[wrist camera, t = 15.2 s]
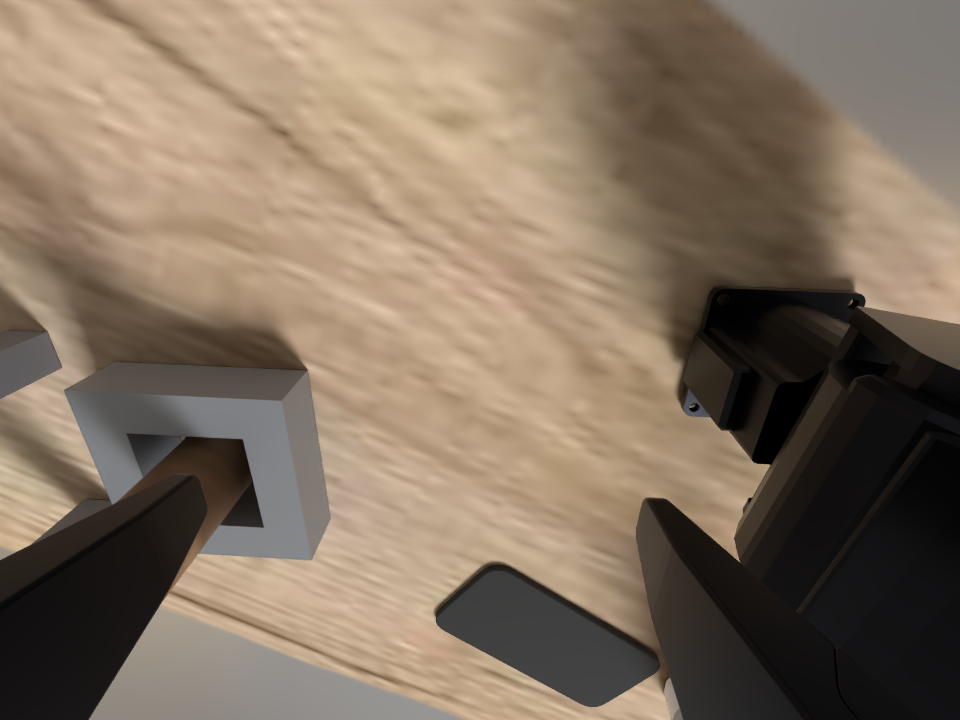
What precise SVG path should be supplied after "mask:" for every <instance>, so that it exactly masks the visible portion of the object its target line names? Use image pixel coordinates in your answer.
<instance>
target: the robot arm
mask: <svg viewBox="0 0 960 720" xmlns="http://www.w3.org/2000/svg"><path fill="white" fill-rule="evenodd" d="M722 294H726V297H725V299H724V300H723V301H722V302H718V298H719V296H720V295H722ZM852 299H853V302H852V304H851V305H850V306H848V307H847V303H848V302H849V301H850V300H852ZM865 301H866V300H865V297H864V296H863V295H862V294H859V293H857V292H854V291H844V290H818V289H793V288H767V287H741V286H718V287H716V288H714V289H713V290H712V291H711V292H710V294H709V296H708V299H707V303H706V307H705V311H704V315H703V319H702V323H701V327H700V330H699V331H698V332H697V333H695V334H694V338H693V342H692V346H691V350H690V354H689V358H688V362H687V366H686V370H685V374H684V378H683V382H684V383H685V384H686V386H685V390H684V393H683V397H682V401H681V407H682V409H683V411H684V412H685V414H687V415H688V416H695V417H711V418H712V420H713V421H714V422H715V424H716V425H717V426H718V427H719V428H720V429H721V430H722V431H729V432H730V433H731V434H732V435H733V437H734V438H735V439H736V441H737V442H738V443H739V444H740V446H741V447H742V448H743V449H744V451H745V452H746V453H747V454H748V456H749V457H750V458H751V460H752V461H753V462H754V463H757V464H770V465H771V466H770V467H769V469H768V471H767V473H766V474H765V476H764V478H763V480H762V482H761V483H760V485H759V487H758V489H757V490H756V492H755V494H754V496H753V497H752V498H749V499H748V500H747V502H746V504H745V506H744V507H743V516H742V518H741V520H740V521H739V523H738V527H737V530H736V534H735V537H734V540H735V544H736V548H737V552H738V556H739V560H740V562H741V563H740V562H739V561H737V560H736V559H735V558H734V557H733V556H732V555H730V554H729V553H728V552H727V551H726V550H725V549H724V548H722V547H721V546H720V545H719V544H718V543H717V542H716V541H714V540H713V539H712V538H711V537H710V536H709V535H707V534H706V533H705V532H704V531H703V530H702V529H701V528H699V527H698V526H697V525H696V524H695V523H694V522H693V521H691V520H690V519H689V518H688V517H687V516H686V515H685V514H683V513H682V512H681V511H680V510H679V509H678V508H676V507H675V506H674V505H673V504H672V503H671V502H670V501H668V500H667V499H664V498H649V497H648V498H645V499H644V500H643V502H642V506H641V510H640V515H639V519H638V523H637V527H636V540H637V545H638V551H639V556H640V561H641V566H642V571H643V576H644V581H645V586H646V592H647V597H648V602H649V607H650V611H651V616H652V620H653V623H654V627H655V630H656V634H657V637H658V640H659V643H660V646H661V650H662V653H663V656H664V659H665V663H666V666H667V669H668V672H669V676H670V679H671V682H672V685H673V689H674V692H675V695H676V698H677V702H678V705H679V708H680V711H681V714H682V718H683V720H960V325H959V324H953V323H948V322H943V321H937V320H932V319H926V318H921V317H915V316H910V315H904V314H899V313H893V312H888V311H883V310H877V309H872V308H866V307H864V306H865ZM693 403H697V404H696V406H694V407H693V408H689V407H690V405H691V404H693ZM207 513H208V503H207V500H206V496H205V493H204V490H203V486H202V483H201V480H200V478H199V477H198V476H197V475H195V474H183V473H178V474H173V475H171V476H169V477H167V478H165V479H163V480H161V481H159V482H157V483H155V484H153V485H151V486H149V487H147V488H145V489H143V490H141V491H139V492H137V493H135V494H133V495H131V496H129V497H127V498H125V499H122V500H120V501H118V502H116V503H114V504H112V505H110V506H108V507H106V508H104V509H102V510H100V511H98V512H96V513H94V514H92V515H90V516H88V517H86V518H84V519H82V520H80V521H78V522H76V523H74V524H72V525H70V526H68V527H66V528H64V529H62V530H60V531H58V532H56V533H54V534H52V535H50V536H48V537H46V538H44V539H42V540H40V541H38V542H36V543H34V544H32V545H30V546H28V547H26V548H24V549H22V550H20V551H18V552H16V553H14V554H12V555H10V556H8V557H6V558H4V559H2V560H0V720H89V718H90V717H91V715H92V714H93V712H94V710H95V709H96V707H97V706H98V704H99V702H100V701H101V699H102V698H103V696H104V694H105V692H106V691H107V689H108V688H109V686H110V684H111V683H112V681H113V680H114V678H115V677H116V675H117V673H118V671H119V670H120V668H121V667H122V665H123V664H124V662H125V660H126V659H127V657H128V656H129V654H130V653H131V651H132V649H133V648H134V646H135V644H136V643H137V641H138V640H139V638H140V636H141V635H142V633H143V631H144V630H145V628H146V627H147V625H148V624H149V622H150V620H151V619H152V617H153V616H154V614H155V612H156V611H157V609H158V608H159V606H160V604H161V603H162V601H163V599H164V598H165V596H166V594H167V593H168V591H169V589H170V587H171V586H172V584H173V582H174V580H175V578H176V576H177V574H178V572H179V570H180V568H181V566H182V564H183V562H184V560H185V558H186V556H187V554H188V552H189V550H190V548H191V546H192V544H193V542H194V540H195V538H196V536H197V534H198V532H199V530H200V528H201V526H202V524H203V522H204V520H205V518H206V516H207Z"/></svg>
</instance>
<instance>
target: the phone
mask: <svg viewBox="0 0 960 720" xmlns="http://www.w3.org/2000/svg"><path fill="white" fill-rule="evenodd" d="M436 623H437V625H438V626H439V627H440V628H441V629H443V630H444V631H446V632H448V633H449V634H451V635H453V636H455V637H457V638H459V639H461V640H462V641H464V642H466V643H468V644H470V645H472V646H474V647H475V648H477V649H479V650H481V651H483V652H485V653H487V654H489V655H490V656H492V657H494V658H496V659H498V660H500V661H502V662H503V663H505V664H507V665H509V666H511V667H513V668H515V669H517V670H518V671H520V672H522V673H524V674H526V675H528V676H530V677H531V678H533V679H535V680H537V681H539V682H541V683H543V684H544V685H546V686H548V687H550V688H552V689H554V690H556V691H558V692H559V693H561V694H563V695H565V696H567V697H569V698H571V699H572V700H574V701H576V702H578V703H580V704H582V705H585V706H588V707H598V706H601V705H603V704H605V703H607V702H609V701H610V700H612V699H614V698H615V697H617V696H619V695H620V694H622V693H624V692H625V691H627V690H629V689H630V688H632V687H634V686H635V685H637V684H639V683H640V682H642V681H643V680H645V679H647V678H648V677H650V676H652V675H653V674H655V673H656V672H657V671H658V670H659V668H660V663H659V660H658V657H657V655H656V654H655V653H654V652H653V651H651V650H650V649H648V648H646V647H645V646H643V645H641V644H639V643H638V642H636V641H634V640H633V639H631V638H630V637H628V636H627V635H625V634H623V633H622V632H620V631H617V630H616V629H614V628H613V627H612V626H610V625H608V624H607V623H605V622H602V621H600V620H599V619H597V618H595V617H593V616H592V615H590V614H588V613H587V612H585V611H583V610H581V609H580V608H578V607H576V606H575V605H573V604H571V603H570V602H568V601H566V600H564V599H563V598H561V597H559V596H558V595H556V594H554V593H553V592H551V591H549V590H547V589H546V588H544V587H542V586H541V585H539V584H537V583H536V582H534V581H532V580H530V579H529V578H527V577H525V576H524V575H522V574H520V573H518V572H517V571H515V570H513V569H511V568H509V567H507V566H503V565H493V566H490V567H488V568H486V569H484V570H483V571H482V572H481V573H480V574H478V575H477V576H476V577H475V578H474V579H473V580H472V581H470V582H469V583H468V584H467V585H466V586H465V587H464V588H462V589H461V590H460V591H459V592H458V593H457V594H456V595H454V596H453V597H452V598H451V599H450V600H449V601H448V602H447V603H445V604H444V605H443V606H442V607H441V608H440V609H439V610H438V612H437V615H436Z"/></svg>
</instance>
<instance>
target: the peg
mask: <svg viewBox="0 0 960 720" xmlns="http://www.w3.org/2000/svg"><path fill="white" fill-rule="evenodd" d="M178 473H183V474H195V475H197V476H198V477H199V478H200V480H201V483H202V486H203V490H204V493H205V496H206V500H207V503H208V513H207V516H206V518H205V520H204V522H203V524H202V526H201V528H200V530H199V532H198V534H197V536H196V538H195V540H194V542H193V544H192V546H191V548H190V550H189V552H188V554H187V556H186V558H185V560H184V562H183V564H182V566H181V568H180V570H179V572H178V574H177V576H176V578H175V580H174V582H173V584H172V586H171V587H170V589H169V591H168V593H169V592H170V591H171V589H172V588H173V587H174V585H175V584H176V583H177V581H178V580H179V579H180V577H181V576H182V575H183V573H184V572H185V571H186V569H187V568H188V567H189V565H190V564H191V563H192V561H193V560H194V559H195V557H196V556H197V555H198V553H199V552H200V551H201V549H202V548H203V547H204V545H205V544H206V543H207V541H208V540H209V538H210V537H211V536H212V534H213V533H214V532H215V530H216V529H217V528H218V526H219V525H220V524H221V522H222V521H223V520H224V518H225V517H226V516H227V514H228V513H229V512H230V510H231V509H232V508H233V506H234V505H235V504H236V502H237V501H238V500H239V498H240V497H241V496H242V494H243V493H244V492H245V490H246V489H247V488H248V486H249V485H250V484H251V482H252V481H253V479H252V475H251V471H250V467H249V463H248V459H247V454H246V450H245V446H244V442H243V439H230V438H210V437H190V436H187V437H186V438H185V439H184V440H183V441H182V442H181V443H180V444H179V445H178V446H177V447H176V448H174V449H173V450H172V451H171V452H170V453H169V454H168V455H167V456H166V457H165V458H164V459H163V460H161V461H160V462H159V463H158V464H157V465H156V466H155V467H154V468H153V469H152V470H151V471H150V472H148V473H147V474H146V475H145V476H144V477H143V478H142V479H141V480H140V481H139V482H138V483H136V484H135V485H134V486H133V487H132V488H131V489H130V490H129V491H128V492H127V493H126V494H125V495H123V496H122V497H121V498H120V499H119V500H118V501H120V500H122V499H125V498H127V497H129V496H131V495H133V494H135V493H137V492H139V491H141V490H143V489H145V488H147V487H149V486H151V485H153V484H155V483H157V482H159V481H161V480H163V479H165V478H167V477H169V476H171V475H173V474H178ZM118 501H117V502H118ZM168 593H167V594H166V596H167V595H168ZM166 596H165V597H166ZM164 599H165V598H164ZM164 599H163V600H164Z"/></svg>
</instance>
